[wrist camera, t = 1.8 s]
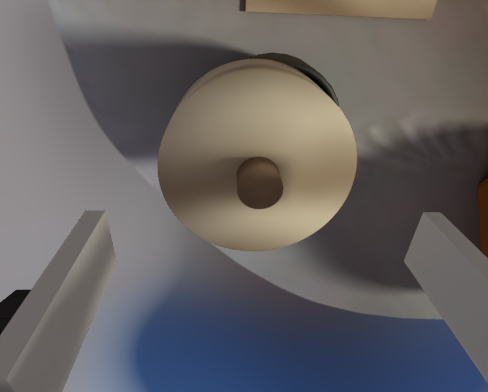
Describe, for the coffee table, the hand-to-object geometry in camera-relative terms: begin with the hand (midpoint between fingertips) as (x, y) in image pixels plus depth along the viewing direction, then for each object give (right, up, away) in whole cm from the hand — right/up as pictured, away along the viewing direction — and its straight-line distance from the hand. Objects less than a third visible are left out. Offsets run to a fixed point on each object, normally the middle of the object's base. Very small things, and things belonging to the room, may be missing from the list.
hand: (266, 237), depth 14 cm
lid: (0, +5, +8) cm, 9 cm away
